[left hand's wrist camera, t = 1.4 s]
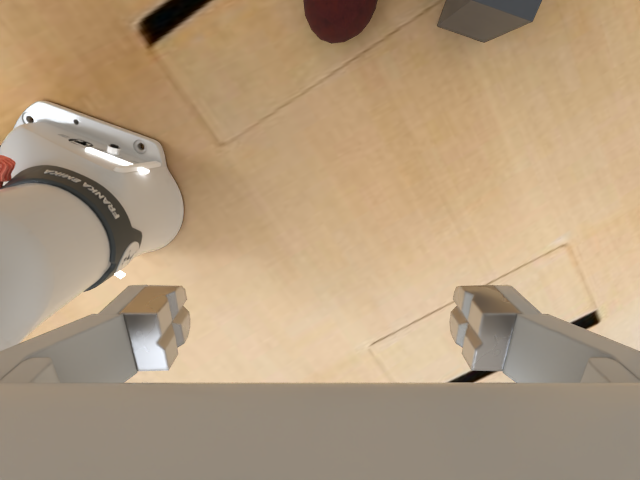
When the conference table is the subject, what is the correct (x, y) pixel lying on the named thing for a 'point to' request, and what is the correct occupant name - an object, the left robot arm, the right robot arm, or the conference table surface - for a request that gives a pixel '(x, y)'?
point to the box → (486, 17)
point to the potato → (338, 18)
